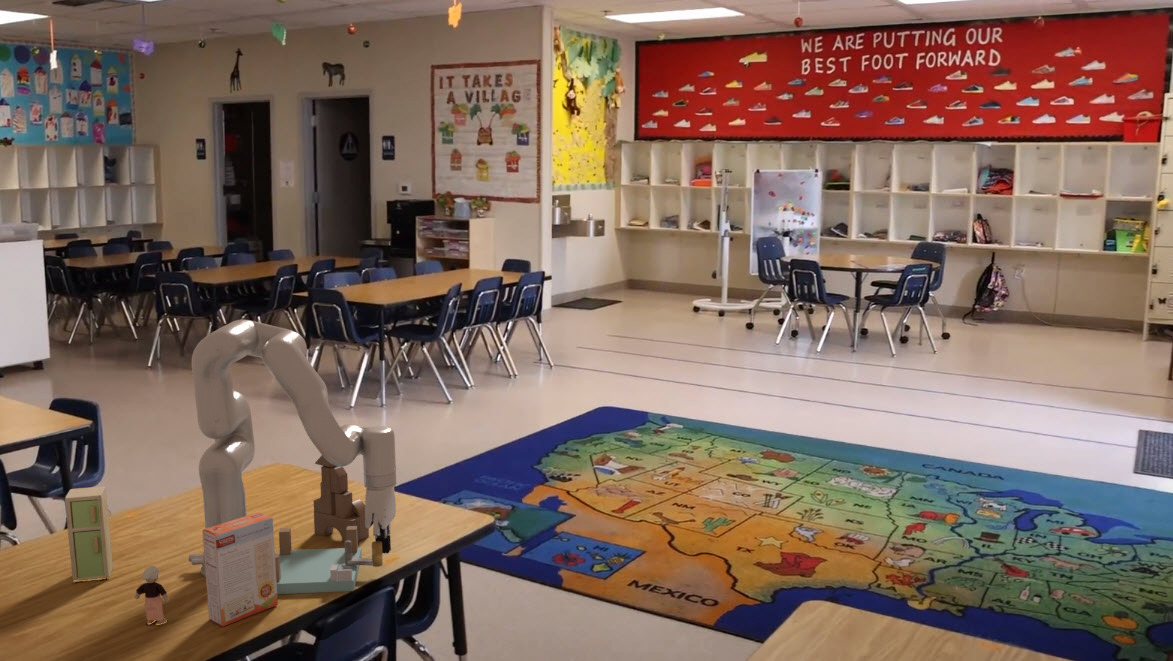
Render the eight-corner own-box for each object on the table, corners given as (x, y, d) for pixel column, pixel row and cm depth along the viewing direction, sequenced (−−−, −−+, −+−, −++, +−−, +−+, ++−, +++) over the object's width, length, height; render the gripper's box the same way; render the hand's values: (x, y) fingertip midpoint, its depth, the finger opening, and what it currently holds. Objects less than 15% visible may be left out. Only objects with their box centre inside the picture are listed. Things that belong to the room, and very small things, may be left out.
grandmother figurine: (175, 618, 229) (171, 563, 227) (169, 626, 226) (165, 570, 223) (139, 618, 229) (135, 563, 227) (132, 626, 225) (128, 570, 223)
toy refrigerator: (71, 584, 246) (63, 498, 242) (77, 572, 253) (70, 488, 249) (108, 581, 248) (101, 495, 244) (113, 569, 255) (106, 485, 251)
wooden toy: (370, 536, 277) (368, 444, 272) (352, 544, 271) (349, 450, 267) (328, 524, 285) (325, 435, 281) (309, 532, 280) (305, 441, 275)
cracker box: (263, 598, 240) (259, 510, 236) (278, 606, 236) (274, 516, 232) (206, 619, 229) (201, 527, 225) (222, 627, 225) (216, 534, 221)
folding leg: (343, 565, 251) (343, 543, 250) (346, 561, 253) (346, 539, 252) (381, 566, 250) (380, 544, 249) (383, 562, 252) (383, 541, 251)
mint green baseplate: (264, 594, 242) (262, 559, 240) (279, 560, 261) (277, 527, 260) (353, 590, 244) (352, 556, 242) (361, 557, 263) (360, 524, 262)
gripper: (374, 468, 259) (377, 539, 262) (354, 488, 244) (358, 563, 248) (404, 469, 258) (407, 540, 261) (386, 489, 243) (389, 564, 247)
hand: (383, 551), depth 255 cm, fingers closed
